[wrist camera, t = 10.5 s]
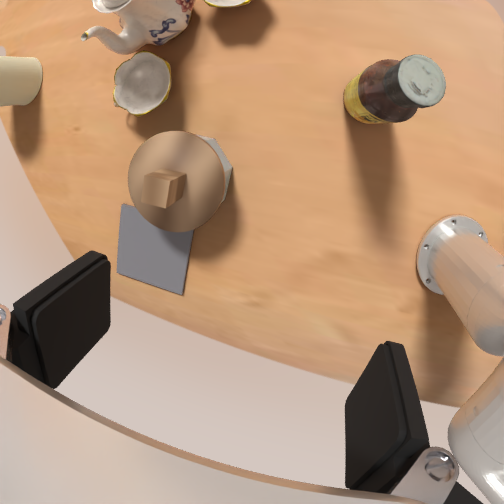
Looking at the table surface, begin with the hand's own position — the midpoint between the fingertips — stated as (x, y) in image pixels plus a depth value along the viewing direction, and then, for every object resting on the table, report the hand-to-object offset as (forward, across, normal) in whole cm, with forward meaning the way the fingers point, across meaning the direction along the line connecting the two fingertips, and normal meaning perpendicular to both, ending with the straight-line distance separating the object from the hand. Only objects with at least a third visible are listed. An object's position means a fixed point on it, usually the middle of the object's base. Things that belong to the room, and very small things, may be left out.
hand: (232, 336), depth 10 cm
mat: (+34, +18, +16) cm, 42 cm away
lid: (+28, +14, +3) cm, 31 cm away
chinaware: (+34, +21, -18) cm, 44 cm away
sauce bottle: (+35, -6, -13) cm, 38 cm away
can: (+33, +50, -8) cm, 60 cm away
